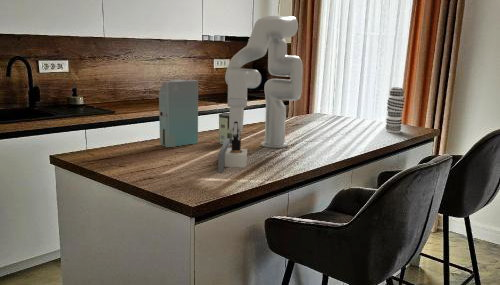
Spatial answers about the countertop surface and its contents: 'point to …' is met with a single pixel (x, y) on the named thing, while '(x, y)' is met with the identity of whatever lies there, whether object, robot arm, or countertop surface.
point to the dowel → (237, 150)
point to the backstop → (223, 155)
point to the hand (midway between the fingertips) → (236, 148)
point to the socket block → (235, 158)
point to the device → (178, 113)
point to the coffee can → (224, 128)
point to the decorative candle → (395, 110)
